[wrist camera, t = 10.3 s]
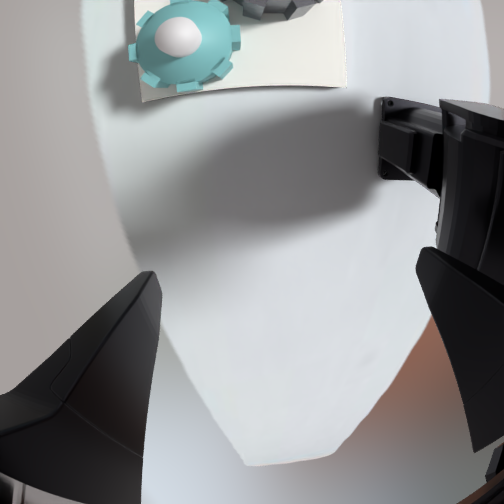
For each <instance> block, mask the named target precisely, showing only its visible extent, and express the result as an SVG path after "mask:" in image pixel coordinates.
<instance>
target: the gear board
mask: <svg viewBox="0 0 504 504" xmlns="http://www.w3.org/2000/svg"><path fill="white" fill-rule="evenodd" d="M315 2H316V1H315ZM134 12H135V35H136V43H134V44H131V45H128V51H129V61H131V62H136V63H138V72H139V82H140V90H141V98H142V102H147V101H151V100H156V99H161V98H166V97H171V96H176V95H182V94H188V93H195V92H201V91H209V90H217V89H227V88H238V87H253V86H324V87H339V88H347V74H346V52H345V37H344V25H343V15H342V7H341V0H323V1H322V2H321V3H318V2H316V4H315V5H314V6H313V7H312V8H311V9H310V10H309V11H308V12H307V13H306V14H305V15H304V16H302V17H298V18H295V19H292V20H288V21H287V19H286V17H285V16H284V14H280V13H263V15H262V17H261V20H256V19H253V18H249V17H245V16H243V6H241V5H240V4H238V3H236V2H235V1H233V0H226V1H224V2H221V1H220V0H134Z"/></svg>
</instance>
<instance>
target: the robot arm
mask: <svg viewBox="0 0 504 504" xmlns="http://www.w3.org/2000/svg"><path fill="white" fill-rule="evenodd" d="M389 100H390V102H391V105H390V106H389V105H388V101H389ZM439 105H440V107H436V106H432V105H428V104H423V103H419V102H414V101H409V100H404V99H399V98H393V97H385V98H384V99H383V102H382V122H381V123H380V135H379V150H378V154H379V156H380V157H379V168H378V175H379V176H380V177H381V178H382V179H385V180H413V181H416V182H418V183H419V184H420V185H422V186H423V187H425V188H426V189H427V190H429V191H430V192H431V193H433V194H434V195H436V196H437V197H438V198H439V199H440V204H439V213H438V221H437V222H436V226H435V231H436V233H437V235H436V246H437V249H436V248H434V247H424V248H422V249H421V251H420V254H419V258H418V261H417V264H416V274H417V276H418V279H419V282H420V284H421V287H422V290H423V292H424V295H425V298H426V301H427V304H428V307H429V309H430V311H431V314H432V316H433V318H434V321H435V323H436V326H437V328H438V330H439V333H440V335H441V338H442V341H443V343H444V346H445V348H446V351H447V354H448V357H449V359H450V362H451V365H452V368H453V371H454V374H455V377H456V381H457V384H458V387H459V391H460V394H461V398H462V401H463V404H464V409H465V414H466V418H467V423H468V427H469V432H470V436H471V442H472V448H473V452H474V453H476V452H478V451H479V450H481V449H483V448H484V447H486V446H488V445H489V444H491V443H493V442H494V441H496V440H497V439H499V438H500V437H502V436H504V109H503V108H500V107H496V106H493V105H489V104H485V103H477V102H469V101H459V100H447V99H439ZM384 171H386V174H385V175H383V172H384ZM161 307H162V291H161V288H160V285H159V282H158V279H157V276H156V274H155V272H153V271H144V272H141V273H140V274H139V275H137V276H136V277H135V278H134V279H133V280H132V281H131V282H129V283H128V284H127V285H126V286H125V287H124V288H123V289H121V291H119V292H118V293H117V294H116V295H115V296H114V297H112V298H111V299H110V300H109V301H108V302H107V303H106V304H105V305H104V306H102V307H101V308H100V309H99V310H98V311H97V312H96V313H95V314H94V315H93V316H92V317H91V318H90V319H88V320H87V321H86V322H85V323H84V324H83V325H82V326H81V327H80V328H79V329H78V330H77V331H76V332H75V333H74V334H73V335H72V336H71V337H70V338H69V339H67V340H66V341H65V342H64V343H63V344H62V345H61V346H60V347H59V348H58V349H57V350H56V351H55V352H54V353H53V354H52V355H51V356H50V357H49V358H48V359H46V360H45V361H44V362H43V363H42V364H41V365H40V366H39V367H38V368H36V369H35V370H34V371H33V372H32V373H31V374H30V375H28V376H27V377H26V378H25V379H24V380H23V381H22V382H21V383H19V384H18V385H17V386H16V387H15V388H14V389H13V390H11V391H9V392H7V393H5V394H2V395H0V504H141V485H142V467H143V452H144V441H145V431H146V421H147V413H148V404H149V397H150V390H151V383H152V377H153V370H154V364H155V358H156V352H157V347H158V341H159V332H160V318H161ZM485 477H486V481H487V483H486V484H485V485H483V486H482V487H481V488H479V489H478V490H476V491H475V492H473V493H472V494H471V495H469V496H468V497H466V498H465V499H463V500H462V501H460V502H459V503H457V504H504V442H503V443H502V444H500V445H499V446H498V447H497V448H495V449H494V452H493V455H492V458H491V461H490V464H489V467H488V470H487V472H486V475H485Z"/></svg>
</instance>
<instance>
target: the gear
mask: <svg viewBox="0 0 504 504" xmlns="http://www.w3.org/2000/svg"><path fill="white" fill-rule="evenodd" d="M220 1H221V2H224V1H226V0H220ZM233 1H235V2H236V3H238V4H240V5H241V6H243V16H245V17H249V18H253V19H256V20H261V17H262V15H263V13H280V14H284V16H285V17H286V19H287V21H288V20H292V19H295V18H298V17H302V16H304V15H305V14H306V13H307V12H308V11H309V10H310V9H311V8H312V7H313V6H314V5H315V4H316V2H318V3H321V2H322V1H323V0H233ZM315 1H316V2H315Z"/></svg>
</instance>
